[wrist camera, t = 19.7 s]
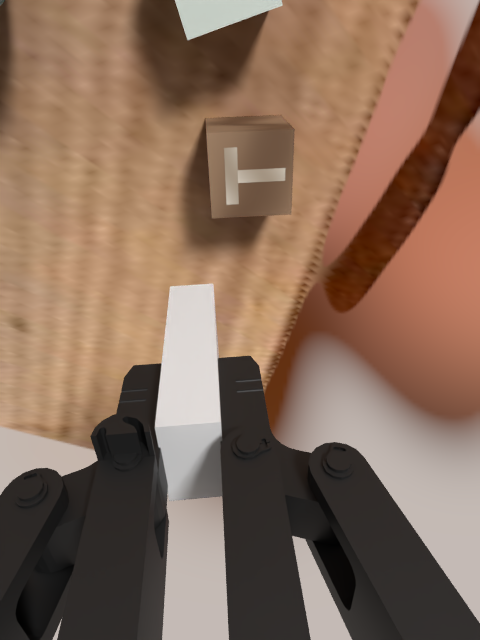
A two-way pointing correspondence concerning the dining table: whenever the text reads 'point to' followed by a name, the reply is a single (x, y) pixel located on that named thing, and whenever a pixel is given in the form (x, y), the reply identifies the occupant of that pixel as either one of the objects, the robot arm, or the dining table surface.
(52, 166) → the dining table surface
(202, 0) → the grey-green block
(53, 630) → the robot arm
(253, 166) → the walnut block
